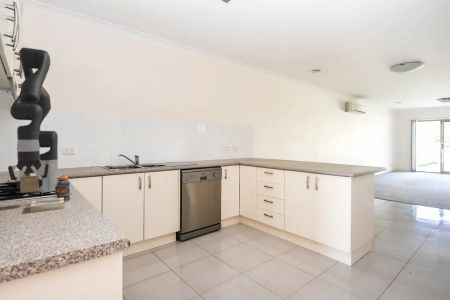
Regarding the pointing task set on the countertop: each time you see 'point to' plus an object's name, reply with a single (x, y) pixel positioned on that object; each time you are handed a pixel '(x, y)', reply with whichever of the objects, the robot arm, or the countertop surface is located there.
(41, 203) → the tan flat square piece
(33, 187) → the walnut cube
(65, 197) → the pill bottle
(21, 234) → the countertop surface
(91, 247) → the countertop surface
